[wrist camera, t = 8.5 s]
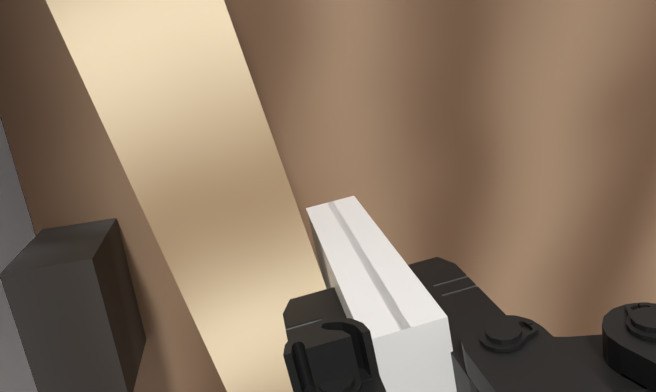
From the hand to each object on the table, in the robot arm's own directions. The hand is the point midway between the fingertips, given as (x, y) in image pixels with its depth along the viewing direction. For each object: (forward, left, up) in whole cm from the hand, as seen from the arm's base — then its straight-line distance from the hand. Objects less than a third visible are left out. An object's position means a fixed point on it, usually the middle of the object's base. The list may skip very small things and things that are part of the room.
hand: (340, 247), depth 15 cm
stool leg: (-3, +3, -2) cm, 5 cm away
